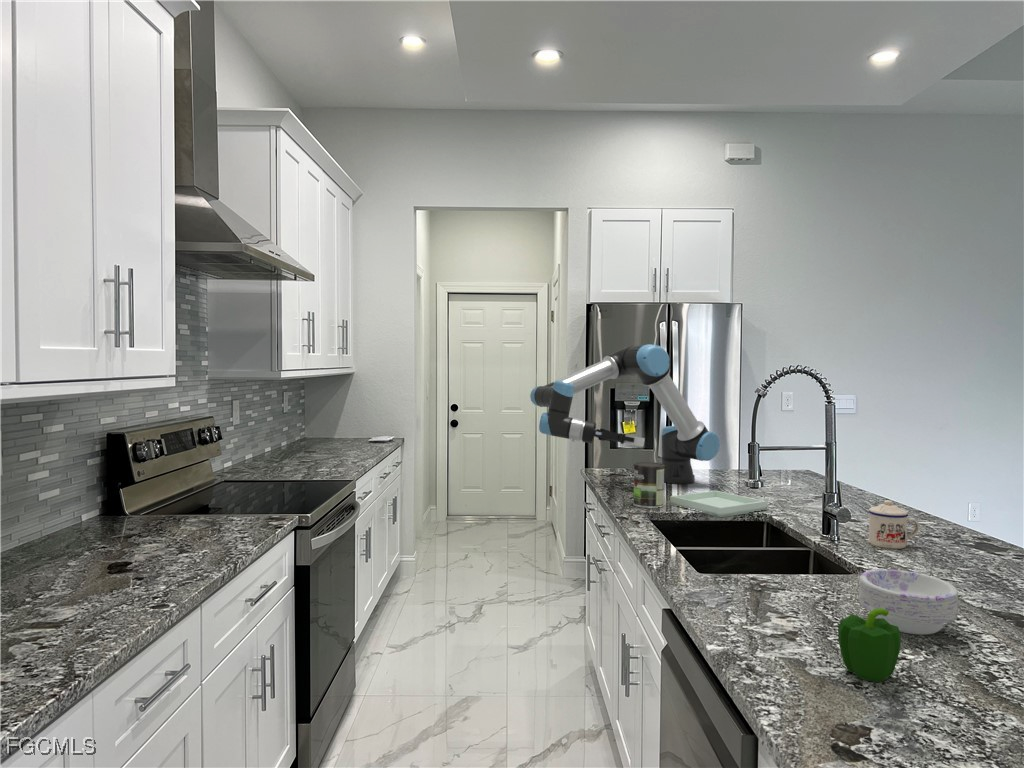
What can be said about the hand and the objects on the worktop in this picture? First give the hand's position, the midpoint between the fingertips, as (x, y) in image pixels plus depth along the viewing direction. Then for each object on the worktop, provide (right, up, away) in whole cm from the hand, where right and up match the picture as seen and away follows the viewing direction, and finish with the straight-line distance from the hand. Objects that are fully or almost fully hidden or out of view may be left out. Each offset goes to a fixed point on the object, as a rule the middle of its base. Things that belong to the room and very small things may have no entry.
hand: (644, 442), depth 223 cm
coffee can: (+1, -21, -2) cm, 21 cm away
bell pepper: (+8, -24, -126) cm, 128 cm away
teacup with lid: (+55, -23, -52) cm, 79 cm away
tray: (+24, -21, -5) cm, 32 cm away
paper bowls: (+26, -24, -106) cm, 112 cm away
